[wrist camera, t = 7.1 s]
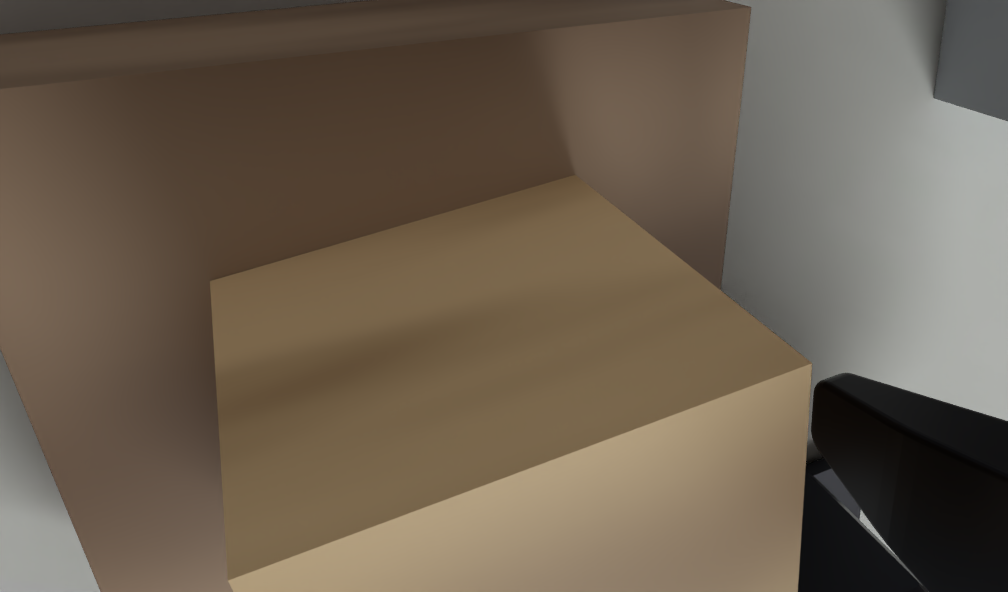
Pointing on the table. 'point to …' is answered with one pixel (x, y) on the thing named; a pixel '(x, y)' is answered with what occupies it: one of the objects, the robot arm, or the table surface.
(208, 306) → the walnut block
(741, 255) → the table surface
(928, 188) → the table surface
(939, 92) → the grey cube
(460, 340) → the oak cube
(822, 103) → the table surface
